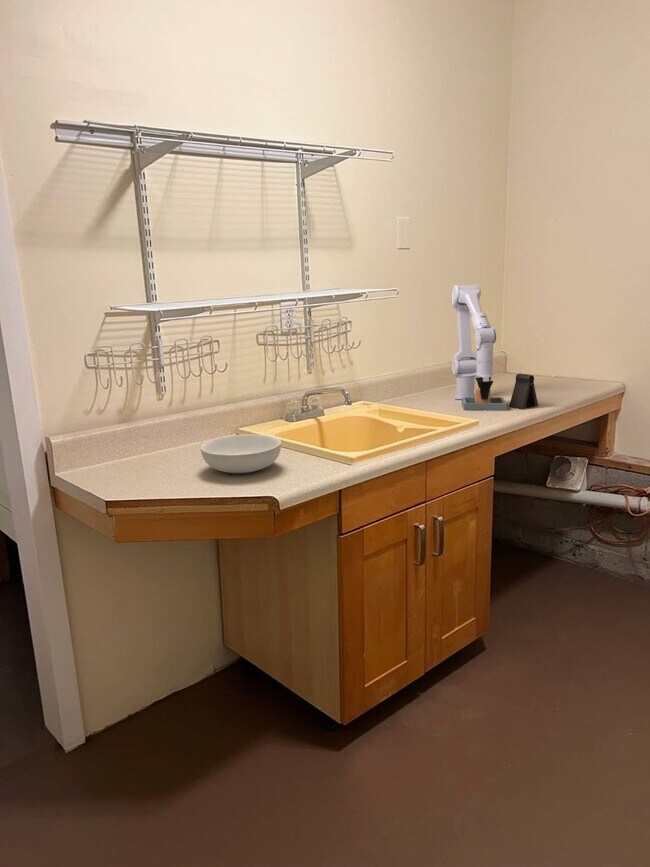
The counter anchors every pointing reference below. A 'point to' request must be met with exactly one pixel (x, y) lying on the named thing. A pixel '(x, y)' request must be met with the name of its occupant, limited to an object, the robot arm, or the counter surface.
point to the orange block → (478, 397)
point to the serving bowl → (241, 453)
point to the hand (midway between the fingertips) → (483, 397)
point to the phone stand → (524, 392)
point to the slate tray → (484, 404)
